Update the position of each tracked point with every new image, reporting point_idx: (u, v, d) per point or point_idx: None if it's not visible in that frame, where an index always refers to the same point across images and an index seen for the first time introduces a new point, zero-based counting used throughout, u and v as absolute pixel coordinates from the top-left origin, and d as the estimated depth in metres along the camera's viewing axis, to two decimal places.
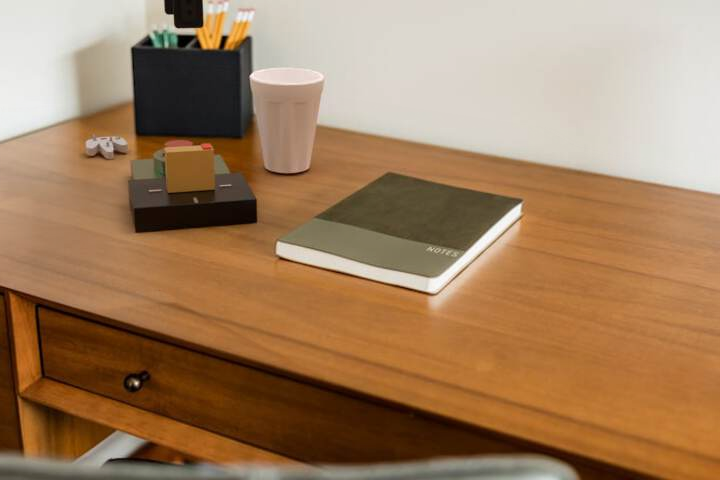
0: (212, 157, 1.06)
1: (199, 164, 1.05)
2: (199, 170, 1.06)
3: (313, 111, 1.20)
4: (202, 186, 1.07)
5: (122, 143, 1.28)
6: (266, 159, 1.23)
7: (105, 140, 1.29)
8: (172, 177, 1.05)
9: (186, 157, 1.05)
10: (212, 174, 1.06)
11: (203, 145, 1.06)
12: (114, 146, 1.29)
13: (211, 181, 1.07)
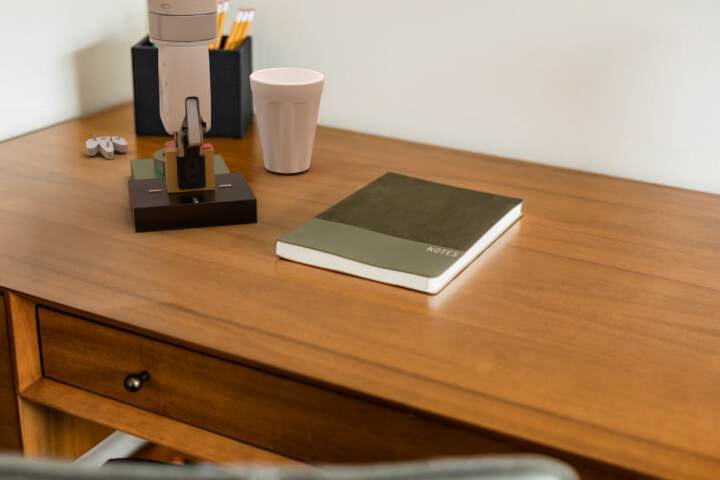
0: (212, 157, 1.06)
1: None
2: None
3: (313, 111, 1.20)
4: None
5: (122, 143, 1.28)
6: (266, 159, 1.23)
7: (105, 140, 1.29)
8: (172, 177, 1.05)
9: None
10: (212, 174, 1.06)
11: (203, 145, 1.06)
12: (114, 146, 1.29)
13: (211, 181, 1.07)
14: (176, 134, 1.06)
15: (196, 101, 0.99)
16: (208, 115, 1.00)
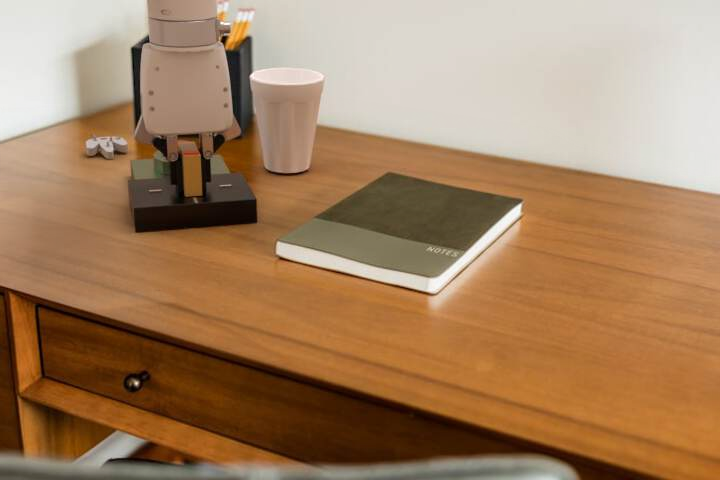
0: (183, 163, 1.03)
1: None
2: None
3: (313, 111, 1.20)
4: None
5: (122, 143, 1.28)
6: (266, 159, 1.23)
7: (105, 140, 1.29)
8: None
9: (180, 154, 1.06)
10: (184, 180, 1.04)
11: (191, 150, 1.04)
12: (114, 146, 1.29)
13: (184, 187, 1.04)
14: (199, 138, 1.06)
15: None
16: (145, 116, 1.01)
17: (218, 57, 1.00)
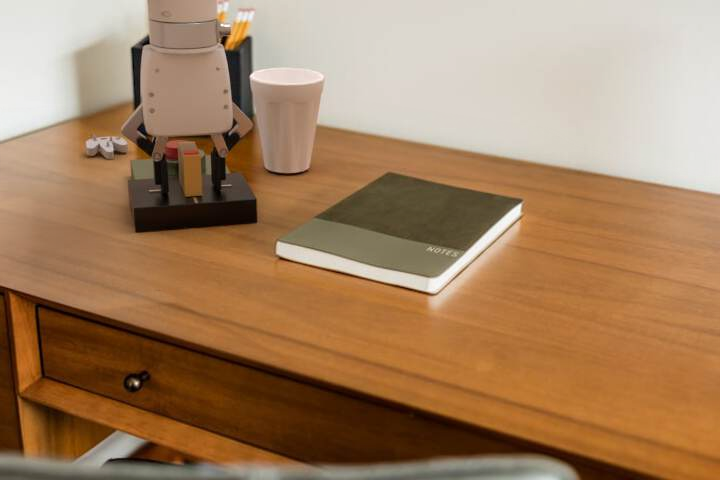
0: (183, 163, 1.03)
1: (181, 165, 1.05)
2: (182, 171, 1.05)
3: (313, 111, 1.20)
4: (183, 188, 1.06)
5: (122, 143, 1.28)
6: (266, 159, 1.23)
7: (105, 140, 1.29)
8: (179, 168, 1.08)
9: (180, 154, 1.06)
10: (184, 180, 1.04)
11: (191, 150, 1.04)
12: (114, 146, 1.29)
13: (184, 187, 1.04)
14: None
15: None
16: (145, 118, 1.01)
17: (218, 59, 1.00)
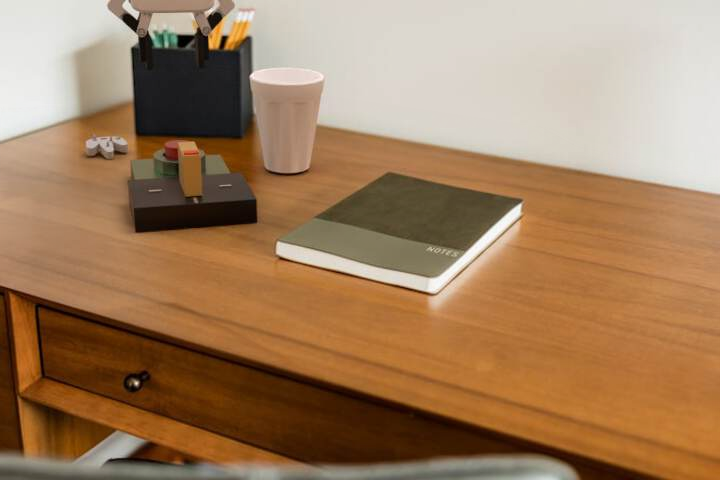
0: (183, 163, 1.03)
1: (181, 165, 1.05)
2: (182, 171, 1.05)
3: (313, 111, 1.20)
4: (183, 188, 1.06)
5: (122, 143, 1.28)
6: (266, 159, 1.23)
7: (105, 140, 1.29)
8: (179, 168, 1.08)
9: (180, 154, 1.06)
10: (184, 180, 1.04)
11: (191, 150, 1.04)
12: (114, 146, 1.29)
13: (184, 187, 1.04)
14: (195, 20, 1.12)
15: None
16: None
17: None
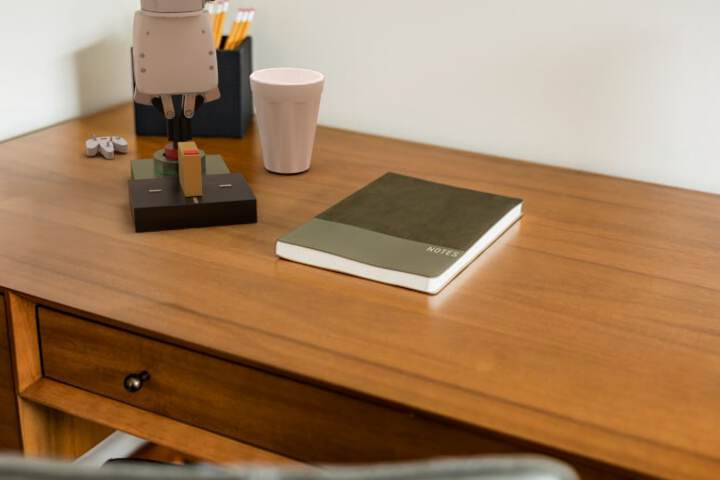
0: (183, 163, 1.03)
1: (181, 165, 1.05)
2: (182, 171, 1.05)
3: (313, 111, 1.20)
4: (183, 188, 1.06)
5: (122, 143, 1.28)
6: (266, 159, 1.23)
7: (105, 140, 1.29)
8: (179, 168, 1.08)
9: (180, 154, 1.06)
10: (184, 180, 1.04)
11: (191, 150, 1.04)
12: (114, 146, 1.29)
13: (184, 187, 1.04)
14: None
15: None
16: (137, 77, 1.10)
17: (203, 22, 1.09)
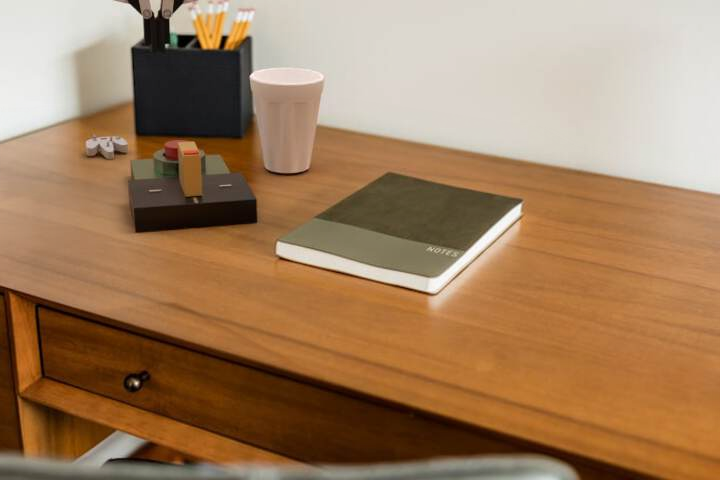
0: (183, 163, 1.03)
1: (181, 165, 1.05)
2: (182, 171, 1.05)
3: (313, 111, 1.20)
4: (183, 188, 1.06)
5: (122, 143, 1.28)
6: (266, 159, 1.23)
7: (105, 140, 1.29)
8: (179, 168, 1.08)
9: (180, 154, 1.06)
10: (184, 180, 1.04)
11: (191, 150, 1.04)
12: (114, 146, 1.29)
13: (184, 187, 1.04)
14: None
15: None
16: None
17: None
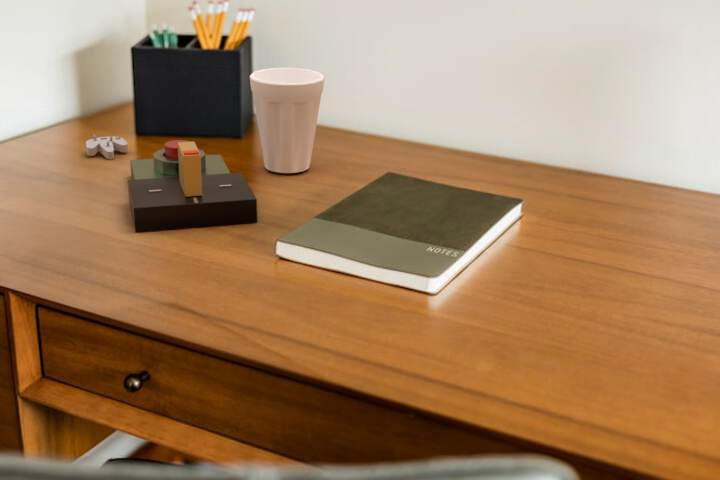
0: (183, 163, 1.03)
1: (181, 165, 1.05)
2: (182, 171, 1.05)
3: (313, 111, 1.20)
4: (183, 188, 1.06)
5: (122, 143, 1.28)
6: (266, 159, 1.23)
7: (105, 140, 1.29)
8: (179, 168, 1.08)
9: (180, 154, 1.06)
10: (184, 180, 1.04)
11: (191, 150, 1.04)
12: (114, 146, 1.29)
13: (184, 187, 1.04)
14: None
15: None
16: None
17: None
